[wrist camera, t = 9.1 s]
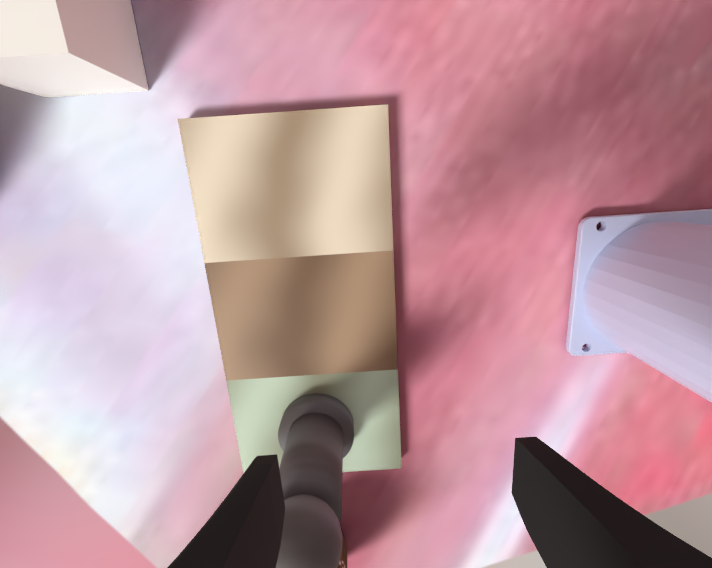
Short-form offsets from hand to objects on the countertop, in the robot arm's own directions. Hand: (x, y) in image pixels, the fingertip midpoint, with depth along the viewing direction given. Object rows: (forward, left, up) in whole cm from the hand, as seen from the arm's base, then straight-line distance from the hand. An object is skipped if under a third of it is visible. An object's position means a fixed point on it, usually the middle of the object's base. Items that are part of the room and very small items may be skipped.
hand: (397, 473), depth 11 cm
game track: (+4, -2, -10) cm, 11 cm away
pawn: (+4, +5, -10) cm, 12 cm away
